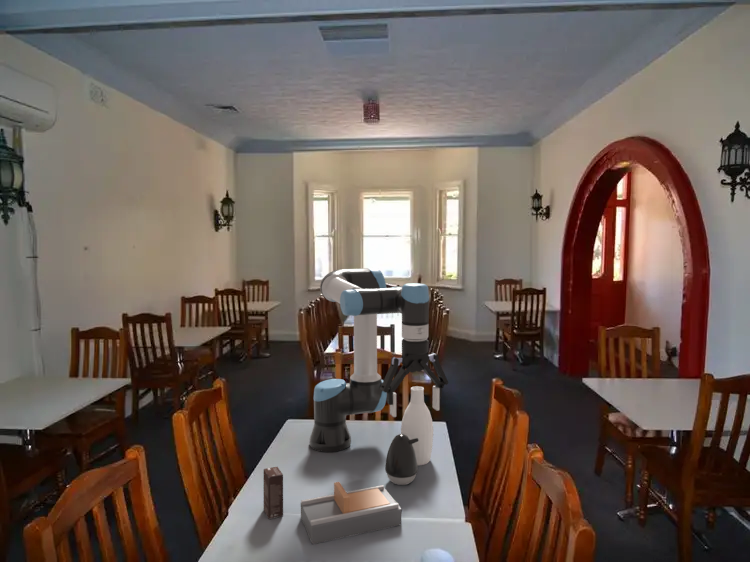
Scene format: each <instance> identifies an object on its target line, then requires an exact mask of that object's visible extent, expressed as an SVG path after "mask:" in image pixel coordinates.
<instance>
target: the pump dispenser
mask: <svg viewBox="0 0 750 562" xmlns="http://www.w3.org/2000/svg"><path fill="white" fill-rule="evenodd" d="M393 437H394V438H393V439H392V440H391V442H390V444H389V447H388V450H387V453H386V458H385V465H384V467H385V469H384V470H385V473H386V476H387V478H388V479H389V481H390V482H391V483H393V484H395V485H398V486H405V485H408V484H410V483H413V481H414V480H415V479H416V476H417V474H418V472H419V471H418V469H419V467H418V465H417V458H416V454H415V450H414V447H413V445H412V444H413V443H415V442H418V438H415V439H411V440H410V439H409V438H408V436H406V435H404V434H401V433H399V434H396V435H395V436H393Z"/></svg>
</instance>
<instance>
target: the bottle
mask: <svg viewBox="0 0 750 562" xmlns="http://www.w3.org/2000/svg"><path fill="white" fill-rule="evenodd" d="M424 390H425V388H424V386H418V385H416V386H412V387H410V400H411V402H410V401H409V403H408V404H407V407H406V408H405V410H404V413H403V417H402V420H401V426H400V434H404V435H406V436H408V438H409V439H410V440H411V439H415V438H418V442H415V443H413V444H412V445H413V447H414V450H415V454H416V458H417V465H418V466H425V465H427V464H428V463H429V462H430V461H431V458H432V451H433V446H434V445H433V444H434V425H433V419H432V415H431V411H430V409H429V408H428V406H427V405H426V403H425V396H424Z"/></svg>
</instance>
